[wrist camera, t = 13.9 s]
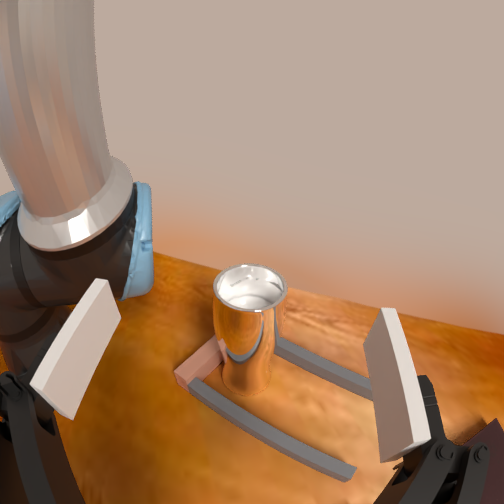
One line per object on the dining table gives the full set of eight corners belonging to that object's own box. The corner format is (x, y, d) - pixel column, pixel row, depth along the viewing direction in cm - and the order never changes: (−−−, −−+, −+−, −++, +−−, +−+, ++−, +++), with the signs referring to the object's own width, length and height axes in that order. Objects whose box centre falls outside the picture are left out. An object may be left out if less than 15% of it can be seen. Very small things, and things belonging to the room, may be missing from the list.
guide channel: (177, 383, 31) (173, 371, 29) (240, 325, 40) (241, 310, 38) (344, 482, 20) (354, 477, 19) (386, 396, 29) (395, 384, 28)
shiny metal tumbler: (222, 402, 29) (214, 317, 21) (215, 357, 35) (207, 264, 27) (280, 394, 31) (300, 307, 22) (267, 350, 36) (278, 259, 28)
